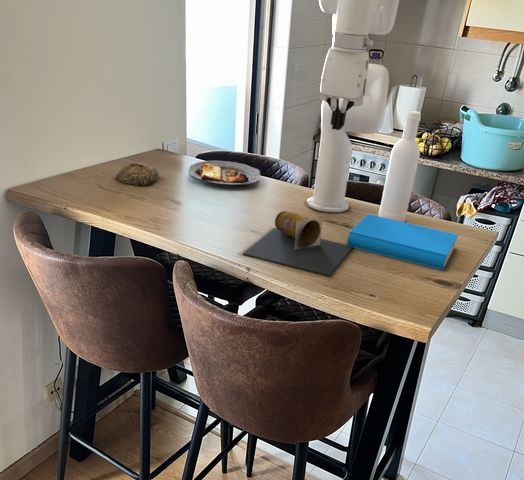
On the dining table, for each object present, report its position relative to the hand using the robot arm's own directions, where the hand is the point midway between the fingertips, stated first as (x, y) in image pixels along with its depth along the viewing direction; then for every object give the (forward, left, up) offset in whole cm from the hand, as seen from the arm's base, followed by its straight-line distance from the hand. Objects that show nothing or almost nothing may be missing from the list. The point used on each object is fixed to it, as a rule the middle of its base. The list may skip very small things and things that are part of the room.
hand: (336, 128), depth 136 cm
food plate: (-29, -44, -27) cm, 59 cm away
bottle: (-23, +14, -27) cm, 38 cm away
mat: (+14, -1, -27) cm, 31 cm away
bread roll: (-10, -65, -27) cm, 71 cm away
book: (-4, +21, -27) cm, 35 cm away
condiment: (+12, 0, -23) cm, 26 cm away
